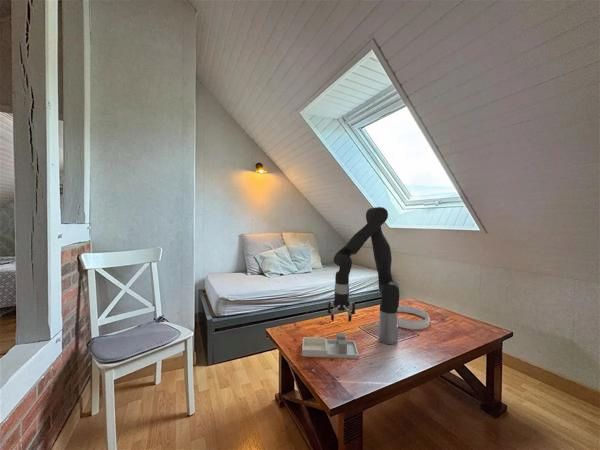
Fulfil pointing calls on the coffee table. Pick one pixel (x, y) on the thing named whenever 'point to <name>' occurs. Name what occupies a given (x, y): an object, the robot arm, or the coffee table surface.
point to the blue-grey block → (340, 337)
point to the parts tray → (333, 350)
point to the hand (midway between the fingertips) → (340, 321)
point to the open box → (314, 347)
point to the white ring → (409, 323)
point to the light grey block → (342, 347)
